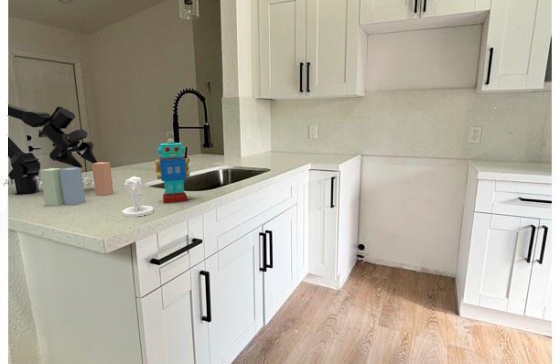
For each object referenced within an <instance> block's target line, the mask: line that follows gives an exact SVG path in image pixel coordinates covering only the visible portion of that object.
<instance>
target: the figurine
mask: <svg viewBox="0 0 560 364" xmlns="http://www.w3.org/2000/svg"><path fill="white" fill-rule="evenodd" d="M124 182H125V183H124V184H123V186H124V188H125V191H126V192H127V193H129V194H131V196H130V197H131V198H130V199H131V200H130V202H131V203H132V204H133V205H132V206H130V207H127V208H124V209H123V210H122V216H123V215H124V216H123V217H125V216H127V217H126V218H138V217H137V216H141V217H145V216H144V215H146V216H149V215H152V214H153V213H154V207H153V206H151V205H142V200H143V201H145V198H144V196H142V194H143V192H144V186H143V183H142V182H143V181H142V178H141V177H139V176H131V177H130V178H128V179H127V178H126V179H125V181H124ZM148 214H149V215H148Z"/></svg>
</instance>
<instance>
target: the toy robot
mask: <svg viewBox="0 0 560 364" xmlns="http://www.w3.org/2000/svg"><path fill="white" fill-rule="evenodd" d="M169 133H171V134H173V132H172V131H169V132H167V134H166V135H168V134H169ZM166 137H167V142H166V143H160V147H158V148H157V151H156V152H157V153H158V154H160V155H161V156H160V157H159V158H158V159H155V161H154V164H155V173H156V180H157V181H158V180H161V182H164V193H163V194H162V200H163V203H164V204H169V203H170V204H171V203H181V202H188V195H187V193H186V192H185V188H184V187H185V185H184V181H185V180H187V178H190V176H191V172H190V170H189V169H190V167H189V162H190V161H189V157H184V156H183V153H185V152H186V147H185V146H183V145H182V143H181V142H175V140H174V138H168V136H166Z"/></svg>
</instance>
